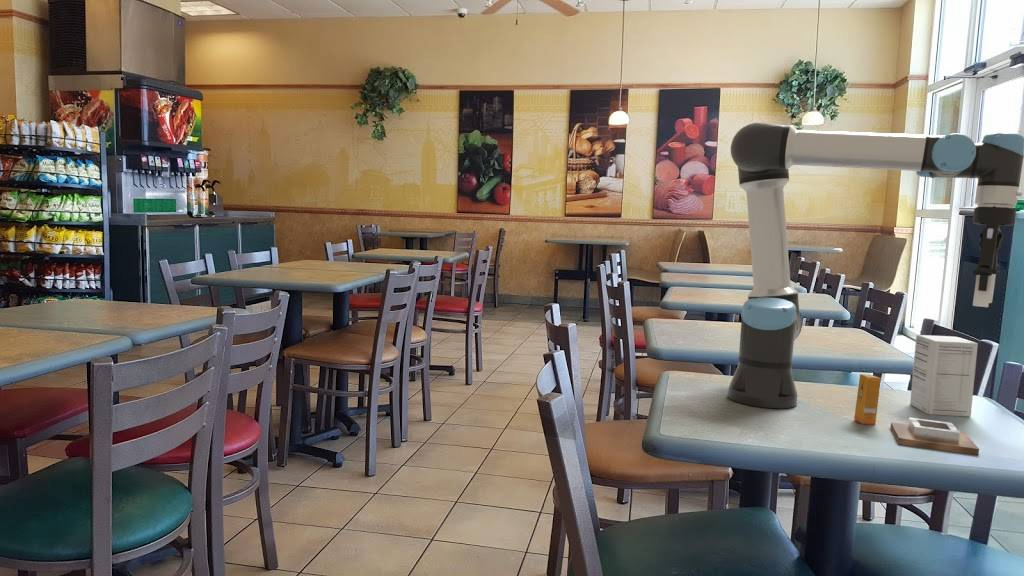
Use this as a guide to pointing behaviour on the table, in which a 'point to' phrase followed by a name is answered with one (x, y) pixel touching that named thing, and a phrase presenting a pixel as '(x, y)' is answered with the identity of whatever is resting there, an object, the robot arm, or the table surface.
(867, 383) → the supplement box
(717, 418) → the table surface
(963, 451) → the board
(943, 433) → the collar
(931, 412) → the supplement box
